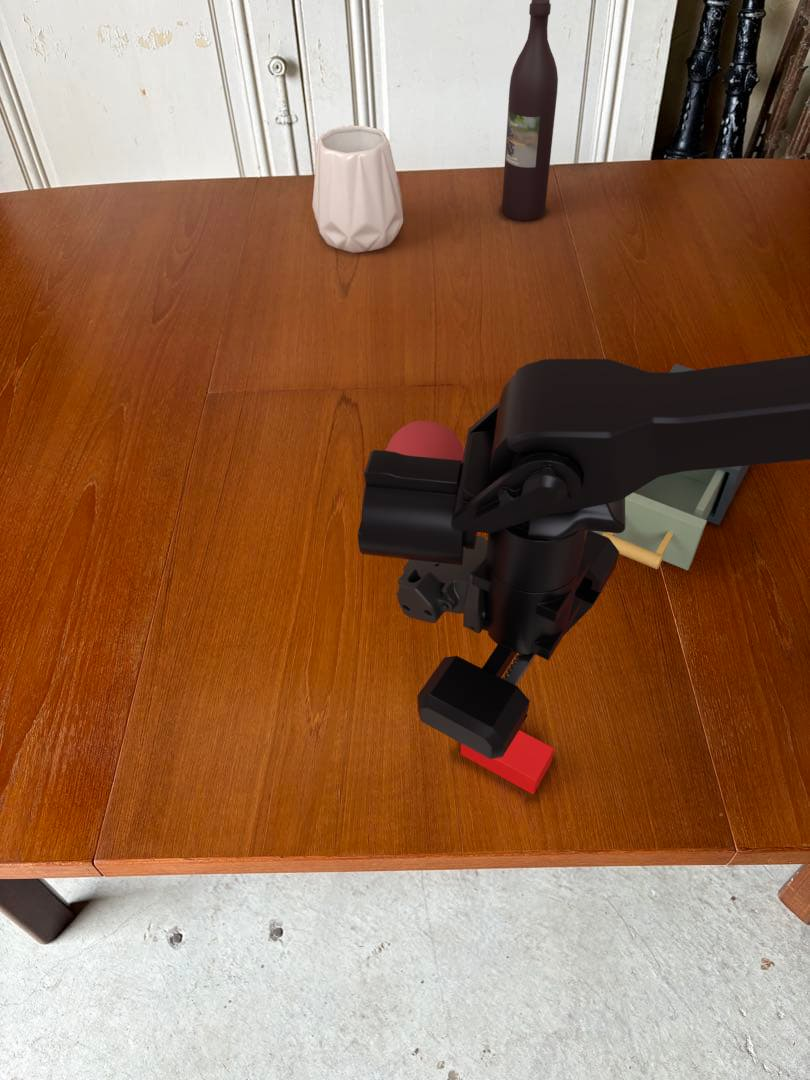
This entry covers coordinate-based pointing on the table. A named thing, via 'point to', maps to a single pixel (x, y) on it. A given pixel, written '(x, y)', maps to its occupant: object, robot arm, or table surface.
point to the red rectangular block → (518, 761)
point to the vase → (356, 189)
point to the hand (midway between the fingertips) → (515, 690)
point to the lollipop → (427, 441)
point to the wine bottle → (530, 121)
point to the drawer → (668, 517)
